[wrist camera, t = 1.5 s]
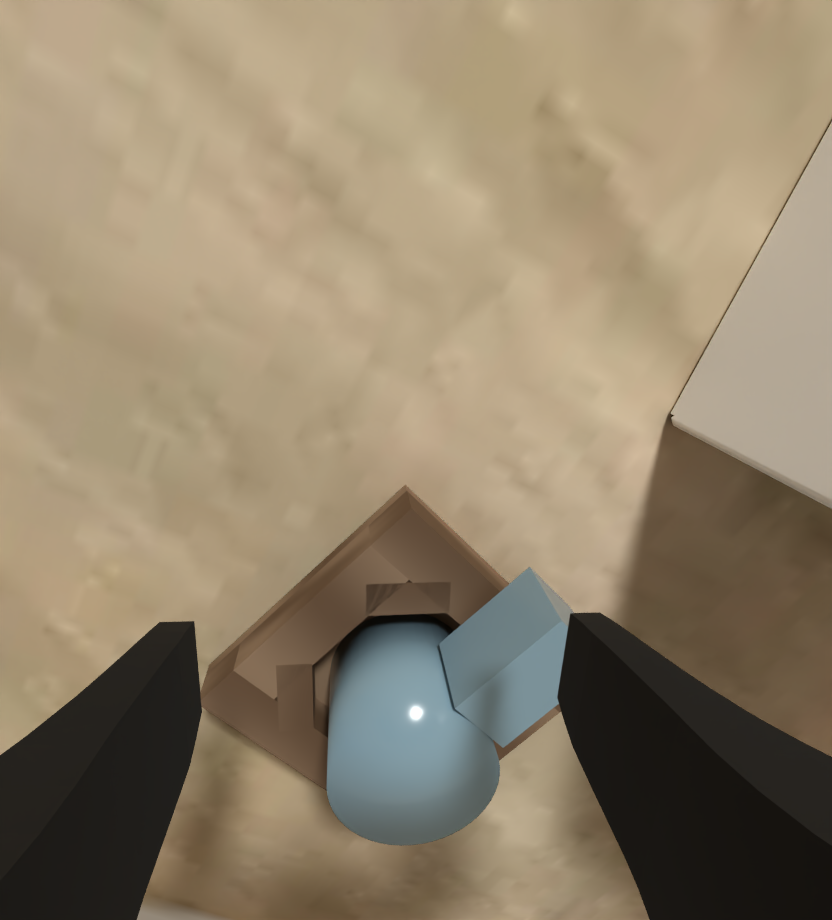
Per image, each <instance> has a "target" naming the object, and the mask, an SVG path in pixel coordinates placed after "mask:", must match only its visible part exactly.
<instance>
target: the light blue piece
mask: <svg viewBox="0 0 832 920" xmlns="http://www.w3.org/2000/svg"><path fill="white" fill-rule="evenodd" d="M570 613H574V612H573V611H572V609H571V608H570V606H569V605H568V604H567V603H566V602H565V601H564V600H563V599H562V598H561V597H560V596H559V595H558V594H557V593H556V592H555V591H554V590H553V589H552V588H551V587H550V586H549V585H548V584H547V583H546V582H545V581H544V580H543V579H542V578H541V577H540V576H539V575H538V574H537V573H536V572H534V571H533V570H532V569H531V568H530V567H529V568H528V569H527V570H525V571H524V572H523V573H522V574H521V575H519V576H518V577H517V578H516V579H515V580H514V581H512V582H511V583H510V584H509V585H508V586H507V587H505V588H504V589H503V590H502V591H501V592H499V593H498V594H497V595H496V596H495V597H494V598H492V599H491V600H490V601H489V602H488V603H486V604H485V605H484V606H483V607H482V608H481V609H479V610H478V611H477V612H476V613H475V614H474V615H472V616H471V617H470V618H469V619H468V620H466V621H465V622H464V623H463V624H462V625H461V626H459V627H458V628H457V629H456V630H455V631H453V630H452V628H451V627H449V626H448V625H447V624H445V623H444V622H442V621H440V620H439V619H437V618H434V617H432V616H430V615H426V614H407V615H379V616H376V617H373V618H371V619H369V620H366V621H365V622H363V623H361V624H360V625H358V626H357V627H355V628H354V629H353V630H352V631H351V632H350V633H348V634H347V635H346V636H345V637H344V639H343V640H342V641H341V643H340V644H339V646H338V647H337V649H336V651H335V653H334V656H333V658H332V662H331V668H330V692H329V725H328V757H327V796H328V800H329V803H330V806H331V808H332V810H333V812H334V813H335V815H336V816H337V818H338V819H339V820H340V821H341V822H342V823H343V824H344V825H345V826H346V827H347V828H348V829H350V830H351V831H352V832H354V833H356V834H358V835H359V836H361V837H364V838H366V839H368V840H371V841H375V842H378V843H383V844H389V845H416V844H423V843H428V842H432V841H435V840H438V839H441V838H444V837H446V836H449V835H451V834H453V833H455V832H457V831H459V830H460V829H462V828H464V827H465V826H467V825H468V824H469V823H471V822H472V821H473V820H474V819H475V818H477V817H478V816H479V815H480V814H481V812H482V811H483V810H484V809H485V808H486V807H487V805H488V804H489V802H490V801H491V799H492V797H493V795H494V793H495V791H496V788H497V785H498V781H499V776H500V765H499V758H498V755H497V752H496V748H495V745H494V742H493V740H494V741H495V742H496V743H498V744H499V745H500V746H501V747H502V748H504V747H505V746H506V745H508V744H509V743H510V742H511V741H513V740H514V739H515V738H516V737H518V736H519V735H520V734H521V733H523V732H524V731H525V730H526V729H528V728H529V727H530V726H531V725H533V724H534V723H535V722H536V721H538V720H539V719H540V718H541V717H543V716H544V715H545V714H546V713H548V712H549V711H550V710H551V709H553V708H554V707H555V706H556V705H558V704H559V702H558V699H557V695H558V689H559V682H560V676H561V669H562V663H563V656H564V650H565V644H566V637H567V631H568V624H569V618H570Z"/></svg>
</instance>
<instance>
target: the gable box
mask: <svg viewBox="0 0 832 920" xmlns="http://www.w3.org/2000/svg"><path fill="white" fill-rule="evenodd" d="M671 414H672V415H674V416H673V417H671V419H672V423H673V426H675V427H677V428H679V429H681V430H683V431H685V432H687V433H688V434H690V435H692V436H694V437H696V438H698V439H700V440H702V441H704V442H705V443H707V444H709V445H711V446H713V447H715V448H717V449H719V450H721V451H723V452H724V453H726V454H728V455H730V456H732V457H734V458H736V459H738V460H740V461H742V462H743V463H745V464H747V465H749V466H751V467H753V468H755V469H757V470H759V471H761V472H762V473H764V474H766V475H768V476H770V477H772V478H774V479H776V480H778V481H780V482H781V483H783V484H785V485H787V486H789V487H791V488H793V489H795V490H797V491H799V492H800V493H802V494H804V495H806V496H808V497H810V498H812V499H814V500H816V501H818V502H819V503H821V504H823V505H825V506H827V507H829V508H831V509H832V122H831V124H830V126H829V128H828V129H827V131H826V133H825V135H824V137H823V138H822V140H821V142H820V144H819V146H818V147H817V149H816V151H815V153H814V155H813V156H812V158H811V160H810V162H809V164H808V166H807V167H806V169H805V171H804V173H803V175H802V176H801V178H800V180H799V182H798V184H797V185H796V187H795V189H794V191H793V193H792V195H791V196H790V198H789V200H788V202H787V204H786V205H785V207H784V209H783V211H782V213H781V214H780V216H779V218H778V220H777V222H776V223H775V225H774V227H773V229H772V231H771V233H770V234H769V236H768V238H767V240H766V242H765V243H764V245H763V247H762V249H761V251H760V252H759V254H758V256H757V258H756V260H755V261H754V263H753V265H752V267H751V269H750V271H749V272H748V274H747V276H746V278H745V280H744V281H743V283H742V285H741V287H740V289H739V290H738V292H737V294H736V296H735V298H734V299H733V301H732V303H731V305H730V307H729V309H728V310H727V312H726V314H725V316H724V318H723V319H722V321H721V323H720V325H719V327H718V328H717V330H716V332H715V334H714V336H713V338H712V339H711V341H710V343H709V345H708V347H707V348H706V350H705V352H704V354H703V356H702V357H701V359H700V361H699V363H698V365H697V366H696V368H695V370H694V372H693V374H692V376H691V377H690V379H689V381H688V383H687V385H686V386H685V388H684V390H683V392H682V394H681V395H680V397H679V399H678V401H677V403H676V404H675V406H674V408H673V410H672V412H671Z"/></svg>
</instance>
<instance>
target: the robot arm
mask: <svg viewBox="0 0 832 920" xmlns="http://www.w3.org/2000/svg"><path fill="white" fill-rule="evenodd" d="M557 699H558V702H559V705H560V709H561V712H562V715H563V718H564V722H565V725H566V728H567V731H568V734H569V737H570V740H571V742H572V745H573V748H574V750H575V752H576V755H577V757H578V759H579V761H580V763H581V765H582V768H583V770H584V772H585V774H586V776H587V778H588V781H589V783H590V785H591V787H592V789H593V791H594V793H595V795H596V798H597V800H598V802H599V804H600V806H601V808H602V810H603V812H604V814H605V817H606V819H607V821H608V823H609V825H610V827H611V829H612V831H613V833H614V836H615V838H616V840H617V842H618V844H619V846H620V848H621V850H622V852H623V855H624V857H625V859H626V861H627V863H628V866H629V868H630V870H631V873H632V875H633V877H634V880H635V882H636V884H637V887H638V889H639V892H640V895H641V897H642V900H643V903H644V905H645V908H646V911H647V914H648V916H649V919H650V920H832V757H831V756H829V755H827V754H825V753H823V752H821V751H819V750H817V749H815V748H813V747H811V746H809V745H807V744H805V743H803V742H801V741H799V740H797V739H796V738H794V737H792V736H790V735H788V734H786V733H784V732H783V731H781V730H779V729H777V728H775V727H773V726H772V725H770V724H768V723H766V722H764V721H763V720H761V719H759V718H757V717H756V716H754V715H752V714H751V713H749V712H747V711H746V710H744V709H742V708H741V707H739V706H737V705H736V704H734V703H733V702H731V701H729V700H728V699H726V698H725V697H723V696H722V695H720V694H718V693H717V692H715V691H714V690H712V689H710V688H709V687H707V686H706V685H704V684H703V683H701V682H700V681H698V680H697V679H695V678H694V677H692V676H691V675H689V674H688V673H686V672H685V671H683V670H682V669H681V668H679V667H678V666H676V665H675V664H673V663H672V662H670V661H669V660H668V659H666V658H665V657H663V656H662V655H661V654H659V653H658V652H656V651H655V650H653V649H652V648H651V647H649V646H648V645H646V644H645V643H644V642H642V641H641V640H639V639H638V638H637V637H635V636H634V635H632V634H631V633H630V632H628V631H627V630H625V629H624V628H622V627H621V626H620V625H618V624H617V623H615V622H614V621H612V620H611V619H609V618H608V617H606V616H604V615H603V614H601V613H570V618H569V624H568V631H567V637H566V644H565V650H564V656H563V663H562V669H561V676H560V682H559V689H558V695H557ZM201 713H202V707H201V696H200V684H199V672H198V661H197V649H196V638H195V626H194V621H192V622H159V623H158V624H157V625H156V626H155V627H154V628H152V629H151V630H150V631H149V632H148V633H147V634H146V635H145V636H144V637H142V638H141V639H140V640H139V641H138V642H137V643H136V644H135V645H134V646H132V647H131V648H130V649H129V650H128V651H127V652H126V653H125V654H124V655H123V656H121V657H120V658H119V659H118V660H117V661H116V662H115V663H114V664H113V665H111V666H110V667H109V668H108V669H107V670H106V671H105V672H104V673H102V674H101V675H100V676H99V677H98V678H97V679H96V680H94V681H93V682H92V683H91V684H90V685H89V686H88V687H86V688H85V689H84V690H83V691H82V692H81V693H80V694H78V695H77V696H76V697H75V698H73V699H72V700H71V701H70V702H68V703H67V704H66V705H65V706H63V707H62V708H61V709H60V710H58V711H57V712H56V713H55V714H53V715H52V716H51V717H50V718H48V719H47V720H46V721H45V722H43V723H42V724H41V725H40V726H38V727H37V728H36V729H35V730H34V731H32V732H31V733H30V734H28V735H27V736H26V737H24V738H23V739H22V740H20V741H19V742H18V743H16V744H15V745H14V746H12V747H11V748H10V749H8V750H7V751H5V752H4V753H3V754H1V755H0V920H137V916H138V913H139V910H140V907H141V904H142V901H143V898H144V895H145V892H146V889H147V886H148V883H149V880H150V878H151V875H152V872H153V869H154V866H155V864H156V861H157V858H158V855H159V852H160V849H161V847H162V844H163V841H164V838H165V835H166V832H167V830H168V827H169V824H170V821H171V818H172V816H173V813H174V810H175V807H176V804H177V801H178V798H179V796H180V793H181V790H182V787H183V784H184V781H185V778H186V775H187V772H188V769H189V766H190V763H191V758H192V754H193V750H194V745H195V741H196V737H197V732H198V727H199V722H200V718H201Z"/></svg>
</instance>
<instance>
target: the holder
mask: <svg viewBox="0 0 832 920" xmlns="http://www.w3.org/2000/svg"><path fill="white" fill-rule="evenodd" d="M508 585H509V583H508V582H507V581H506V580H505V579H504V578H502V577H501V576H500V575H499V574H498V573H497V572H496V571H495V570H494V569H493V568H492V567H491V566H490V565H489V564H488V563H487V562H486V561H485V560H484V559H483V558H481V557H480V556H479V555H478V554H477V553H476V552H475V551H474V550H473V549H472V548H471V547H470V546H469V545H468V544H467V543H466V542H465V541H464V540H463V539H462V538H460V537H459V536H458V535H457V534H456V533H455V532H454V531H453V530H452V529H451V528H450V527H449V526H448V525H447V524H446V523H445V522H444V521H443V520H442V519H441V518H440V517H438V516H437V515H436V514H435V513H434V512H433V511H432V510H431V509H430V508H429V507H428V506H427V505H426V504H425V503H424V502H423V501H422V500H421V499H420V498H419V497H417V496H416V495H415V494H414V493H413V492H412V491H411V490H410V489H409V488H408V487H407V486H406V485H405V486H404V487H403V488H402V489H400V490H399V491H398V492H397V493H396V494H395V495H394V496H393V497H392V498H391V499H390V500H388V501H387V502H386V503H385V504H384V505H383V506H382V507H381V508H380V509H379V510H378V511H376V512H375V513H374V514H373V515H372V516H371V517H370V518H369V519H368V520H367V521H366V522H364V523H363V524H362V525H361V526H360V527H359V528H358V529H357V530H356V531H355V532H354V533H353V534H351V535H350V536H349V537H348V538H347V539H346V540H345V541H344V542H343V543H342V544H341V545H339V546H338V547H337V548H336V549H335V550H334V551H333V552H332V553H331V554H330V555H329V556H327V557H326V558H325V559H324V560H323V561H322V562H321V563H320V564H319V565H318V566H317V567H315V568H314V569H313V570H312V571H311V572H310V573H309V574H308V575H307V576H306V577H305V578H304V579H302V580H301V581H300V582H299V583H298V584H297V585H296V586H295V587H294V588H293V589H292V590H290V591H289V592H288V593H287V594H286V595H285V596H284V597H283V598H282V599H281V600H280V601H278V602H277V603H276V604H275V605H274V606H273V607H272V608H271V609H270V610H269V611H268V612H266V613H265V614H264V615H263V616H262V617H261V618H260V619H259V620H258V621H257V622H256V623H255V624H253V625H252V626H251V627H250V628H249V629H248V630H247V631H246V632H245V633H244V634H243V635H241V636H240V637H239V638H238V639H237V640H236V641H235V642H234V643H233V644H232V645H231V646H229V647H228V648H227V649H226V650H225V651H224V652H223V653H222V654H221V655H220V656H219V657H217V658H216V659H215V660H214V661H213V662H212V663H211V664H210V665H209V668H208V671H207V674H206V677H205V680H204V683H203V686H202V690H201V693H200V696H201V707H203V708H204V709H206V710H207V711H209V712H210V713H212V714H213V715H215V716H216V717H218V718H219V719H221V720H222V721H224V722H225V723H227V724H228V725H230V726H231V727H233V728H234V729H236V730H237V731H239V732H240V733H242V734H243V735H245V736H246V737H248V738H249V739H251V740H252V741H254V742H255V743H256V744H258V745H259V746H261V747H262V748H264V749H265V750H267V751H268V752H270V753H271V754H273V755H274V756H276V757H277V758H279V759H280V760H282V761H283V762H285V763H286V764H288V765H289V766H291V767H292V768H294V769H295V770H297V771H298V772H300V773H301V774H303V775H304V776H306V777H307V778H309V779H310V780H311V781H313V782H314V783H316V784H317V785H319V786H320V787H322V788H323V789H325V790H326V791H327V757H328V725H329V692H330V668H331V662H332V658H333V656H334V653H335V651H336V649H337V647H338V646H339V644H340V643H341V641H342V640H343V639H344V637H345V636H346V635H347V634H348V633H350V632H351V631H352V630H353V629H354V628H355V627H357V626H358V625H360V624H361V623H363V622H365V621H366V620H369V619H371V618H373V617H376V616H379V615H407V614H426V615H430V616H432V617H434V618H437V619H439V620H440V621H442V622H444V623H445V624H447V625H448V626H449V627H451V628H452V630H453V631H455V630H456V629H457V628H458V627H459V626H461V625H462V624H463V623H464V622H465V621H466V620H468V619H469V618H470V617H471V616H472V615H474V614H475V613H476V612H477V611H478V610H479V609H481V608H482V607H483V606H484V605H485V604H486V603H488V602H489V601H490V600H491V599H492V598H494V597H495V596H496V595H497V594H498V593H499V592H501V591H502V590H503V589H504V588H505V587H507V586H508ZM559 712H561V709H560V705H559V704H558V705H556V706H555V707H554V708H553V709H551V710H550V711H549V712H548V713H546V714H545V715H544V716H543V717H541V718H540V719H539V720H538V721H536V722H535V723H534V724H533V725H531V726H530V727H529V728H528V729H526V730H525V731H524V732H523V733H521V734H520V735H519V736H518V737H516V738H515V739H514V740H513V741H511V742H510V743H509V744H508V745H506V746H505V747H504V748H502V747H501V746H500V745H499V744H498V743H496V742H495V741H494V740H493V742H494V745H495V748H496V752H497V755H498V758H499V760H501V759H502V758H503V757H504V756H506V755H507V754H508V753H509V752H511V751H512V750H513V749H514V748H516V747H517V746H518V745H519V744H521V743H522V742H523V741H524V740H526V739H527V738H528V737H529V736H531V735H532V734H533V733H534V732H536V731H537V730H538V729H539V728H541V727H542V726H543V725H544V724H546V723H547V722H548V721H549V720H551V719H552V718H553V717H554V716H556V715H557V714H558V713H559Z"/></svg>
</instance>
